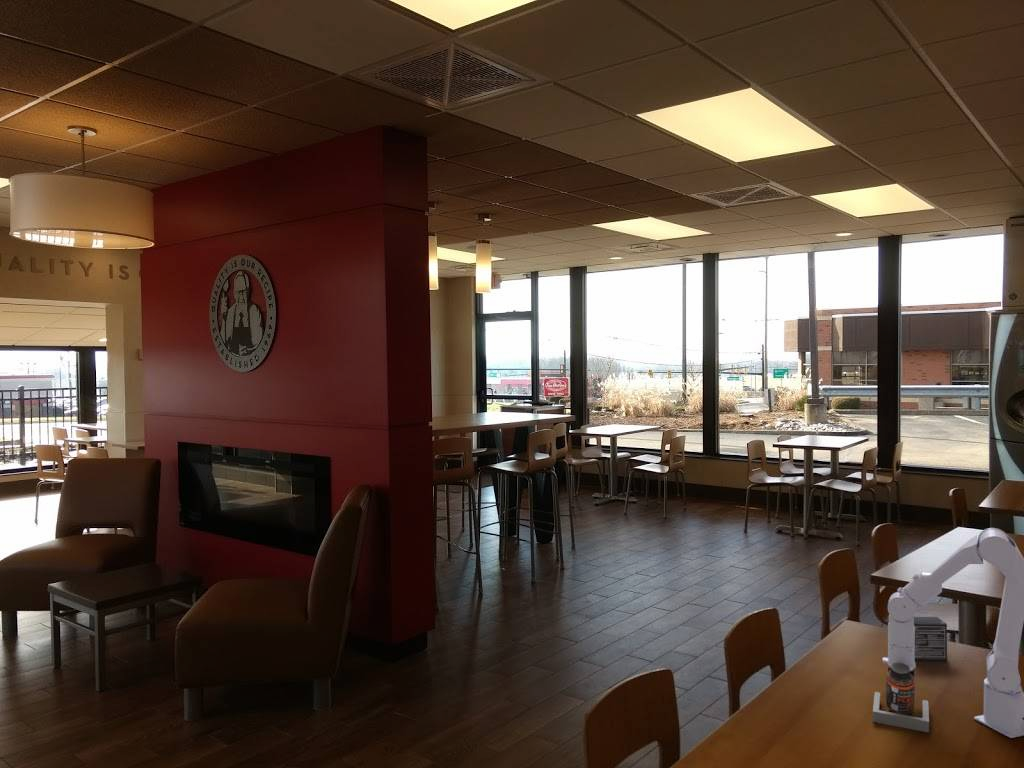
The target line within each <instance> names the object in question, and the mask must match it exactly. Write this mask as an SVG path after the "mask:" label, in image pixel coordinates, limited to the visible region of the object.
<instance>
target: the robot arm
mask: <svg viewBox="0 0 1024 768" xmlns="http://www.w3.org/2000/svg"><path fill="white" fill-rule="evenodd" d="M984 561H985V562H987V563H988V564H990V565H992V566H994V567H995V568H996V569H998V570H999V572H1001V573H1002V574H1003V575H1004V577H1005V578H1004V579H1005V580H1004V585H1003V591H1002V597H1001V601H1000V602H1001V603H1000V609H999V616H998V621H997V627H996V633H995V639H994V642H993V646H992V649H991V652H989V654H988V655H987V656H986V658H985V666H986V672H987V673H986V678H985V679H983V714H981V715H977V716H974V717H973V719H974V720H976V721H977V722H978V723H979V722H980V723H981V724H983V725H985V726H986V727H989V728H990V729H992V730H995V731H996V732H998V733H1000V734H1002V735H1004V736H1007V737H1008V738H1010V739H1013V738H1017V737H1022V736H1024V691H1023V688H1022V684H1021V682H1022V681H1021V680H1022V679H1021V676H1020V673H1019V659H1020V658H1019V653H1020V651H1019V650H1020V644H1021V639H1022V632H1023V627H1024V556H1023V555H1022V553H1021V551H1020V550H1019V547H1018V546H1017V543H1016V542H1015V540H1014V539H1013V538H1012V537H1010V536H1009V535H1008V533H1006V532H1005V531H1003V530H1001V529H1000V528H995V527H989V528H985V529H983V530H982V531H981V532H980V533H979V534H978V535H975V536H973V537H971V538H970V539H969V540H967V541H966V542H965V543H963V545H961V546H960V547H959V548H957V549H956V550H955V551H954V552H953V553H952V554H951V555H950V556H949V557H947V558H946V559H945V560H944V561H943V562H941V563H940V564H939V566H937V567H936V568H935V569H934V570H933V571H931V572H927V571H922V572H920V574H918V573H914V575H912V579H911V581H909V582H908V583H906V585H905V586H904V587H901V586H900V587H899V588H897V589H896V590H897V591H896V592H893V593H892V594H891V595H890V597H889V599H888V603H887V612H888V614H889V615H888V623H887V627H888V628H887V631H888V632H887V657H882V663H884V664H887V667H888V668H887V672H888V671H889V670H891V665H892V664H893V663H896V662H900V663H904V664H906V665H908V666H909V668H910V673H911V674H912V675H913V677H914V678H915V668H917V667H916V664H917V663H916V661H915V626H914V617H916V610H919V609H922V608H924V606H926V605H927V604H928V603H929V602H931V601H932V600H934V599H935V598H936V597H937V596H939V595H940V594H941V593H942V592H943V584H944V583H946V582H947V581H948V580H949V579H951V578H952V577H954V576H956V574H958V573H959V572H961V570H963V569H965V568H966V567H967V566H969V565H984Z"/></svg>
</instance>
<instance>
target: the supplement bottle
mask: <svg viewBox="0 0 1024 768" xmlns="http://www.w3.org/2000/svg"><path fill="white" fill-rule="evenodd" d="M885 679H886V683H885V685H886V686H885V689H886V690H885V692H886V693H885V695H886V696H885V698H886V699H885V701H886V707H887V708H888V709H889V710H890V712H892V713H897V714H902V715H909V714H911V713H913V712H914V709H915V703H916V700H915V676H914V677H913V675H912V674H911V673H910V668H909V666H908V665H906V664H904V663H900V662H896V663H893V664H892V665H891V670H889V671H888V670H887V672H886V677H885Z"/></svg>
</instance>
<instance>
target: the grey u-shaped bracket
mask: <svg viewBox="0 0 1024 768" xmlns="http://www.w3.org/2000/svg"><path fill="white" fill-rule="evenodd" d="M873 697H874V698H873V704H872V705H873V706H872V723H875V722H877V723H876V724H881V723H882V725H886V726H892V727H897V728H904V729H909V730H913V731H918V732H923V733H930V715H929V714H930V712H929V700H927V699H925V700H923V699H922V702H921V704H922V706H921V709H922V710H921V711H922V717H918V716H913V715H912V716H911V715H909V714H906V715H902V714H897V713H894V712H892V711H886V710H885V711H884V710H881V692H879V691H874V696H873Z"/></svg>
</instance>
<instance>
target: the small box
mask: <svg viewBox="0 0 1024 768" xmlns="http://www.w3.org/2000/svg"><path fill="white" fill-rule="evenodd" d="M914 626H915V662H916V661H917V662H919V661H918V660H921V661H920V662H948V637H947V636H948V629H947V627H948V623H946V622H945V621H944V620H942V619H940V617H938V616H914Z"/></svg>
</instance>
